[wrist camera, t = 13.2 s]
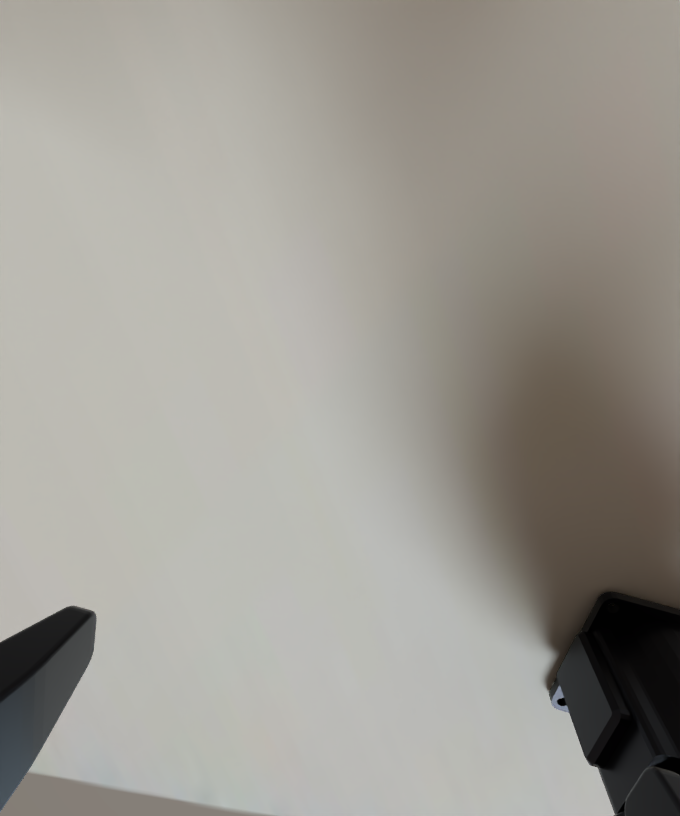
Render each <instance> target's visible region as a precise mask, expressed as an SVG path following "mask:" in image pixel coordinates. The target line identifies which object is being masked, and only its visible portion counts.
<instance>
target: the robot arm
mask: <svg viewBox="0 0 680 816" xmlns="http://www.w3.org/2000/svg"><path fill="white" fill-rule="evenodd" d="M611 603H615V604H614V605H613V606H608V605H609V604H611ZM95 630H96V614H95V612H93V611H91V610H88V609H84V608H81V607H77V606H69V607H66V608H64V609H62V610H60V611H58V612H56V613H54V614H53V615H51V616H49V617H47V618H45V619H43V620H41V621H39V622H38V623H36V624H34V625H32V626H30V627H28V628H26V629H24V630H22V631H21V632H19V633H17V634H15V635H13V636H11V637H9V638H7V639H6V640H4V641H2V642H0V812H1V810H2V809H3V807H4V806H5V804H6V803H7V801H8V800H9V798H10V797H11V796H12V794H13V793H14V791H15V790H16V788H17V787H18V785H19V784H20V782H21V781H22V779H23V778H24V776H25V775H26V773H27V772H28V770H29V769H30V767H31V766H32V764H33V762H34V761H35V759H36V757H37V755H38V754H39V752H40V750H41V749H42V747H43V745H44V743H45V741H46V740H47V738H48V736H49V734H50V733H51V731H52V729H53V727H54V725H55V724H56V722H57V720H58V718H59V716H60V715H61V713H62V711H63V709H64V708H65V706H66V704H67V702H68V700H69V699H70V697H71V695H72V693H73V691H74V690H75V688H76V686H77V684H78V683H79V681H80V679H81V677H82V675H83V674H84V672H85V670H86V668H87V666H88V664H89V662H90V660H91V657H92V655H93V651H94V641H95ZM549 696H550V700H551V703H552V706H553V707H554V708H556V709H558V710H561V711H565V712H569V713H570V716H571V719H572V722H573V724H574V727H575V730H576V733H577V736H578V739H579V741H580V744H581V747H582V750H583V753H584V756H585V758H586V759H587V761H588V763H589V764H590V765H591V766H595V767H598V769H599V772H600V775H601V777H602V780H603V783H604V786H605V788H606V791H607V794H608V796H609V799H610V802H611V805H612V807H613V810H614V813H615V815H614V816H680V610H678V609H675V608H671V607H667V606H664V605H660V604H656V603H652V602H649V601H645V600H641V599H638V598H634V597H630V596H627V595H623V594H619V593H615V592H606V593H604V594H602V595H600V597H599V598H598V599H597V601H596V603H595V605H594V607H593V609H592V611H591V613H590V615H589V617H588V619H587V621H586V623H585V624H584V626H583V628H582V630H581V632H580V633H579V634H577V635H576V637H575V639H574V641H573V643H572V645H571V647H570V649H569V651H568V653H567V655H566V657H565V659H564V661H563V663H562V664H561V666H560V668H559V670H558V672H557V678H556V680H555V682H554V684H553V686H552V688H551V690H550V692H549ZM559 698H562V699H559Z"/></svg>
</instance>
